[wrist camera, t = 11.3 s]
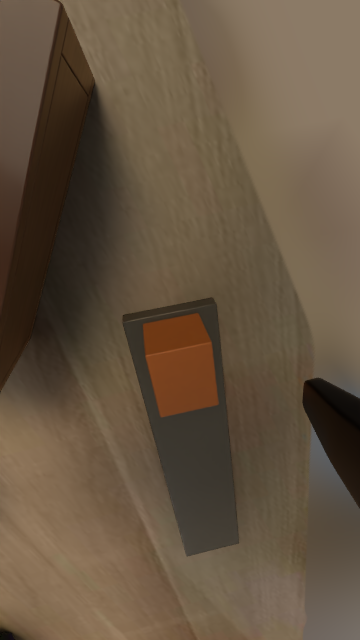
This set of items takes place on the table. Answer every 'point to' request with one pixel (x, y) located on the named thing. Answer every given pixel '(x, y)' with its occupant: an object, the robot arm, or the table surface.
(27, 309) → the cabinet
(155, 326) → the orange cube block
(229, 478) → the board
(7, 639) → the decorative plant
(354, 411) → the robot arm
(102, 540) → the table surface
